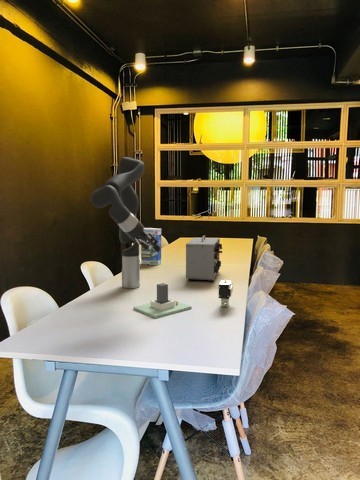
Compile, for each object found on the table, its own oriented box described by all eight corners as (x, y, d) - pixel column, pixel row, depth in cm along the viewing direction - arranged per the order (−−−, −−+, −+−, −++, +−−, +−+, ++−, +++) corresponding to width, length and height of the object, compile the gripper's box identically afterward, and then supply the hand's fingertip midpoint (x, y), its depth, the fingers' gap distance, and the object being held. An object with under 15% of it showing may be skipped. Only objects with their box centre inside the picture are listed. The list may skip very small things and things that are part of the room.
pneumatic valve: (217, 309, 162) (218, 282, 160) (221, 302, 173) (221, 276, 171) (230, 310, 160) (231, 283, 159) (233, 302, 172) (233, 277, 170)
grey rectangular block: (161, 308, 160) (161, 285, 159) (156, 306, 163) (156, 284, 162) (168, 306, 162) (167, 284, 161) (163, 304, 165) (163, 283, 164)
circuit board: (155, 318, 150) (155, 310, 150) (133, 309, 162) (133, 301, 162) (191, 308, 163) (191, 300, 163) (168, 300, 175) (168, 293, 175)
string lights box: (140, 264, 266) (140, 228, 262) (145, 262, 273) (144, 227, 270) (158, 265, 262) (157, 229, 258) (161, 263, 269) (161, 228, 266)
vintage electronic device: (217, 283, 209) (217, 239, 206) (185, 281, 213) (185, 238, 210) (222, 271, 240) (222, 233, 237) (194, 270, 244) (194, 233, 241)
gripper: (145, 219, 148) (168, 244, 157) (126, 217, 159) (148, 241, 168) (134, 233, 145) (158, 258, 154) (115, 230, 156) (138, 254, 165)
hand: (153, 249), depth 161 cm, fingers open, 8 cm apart
